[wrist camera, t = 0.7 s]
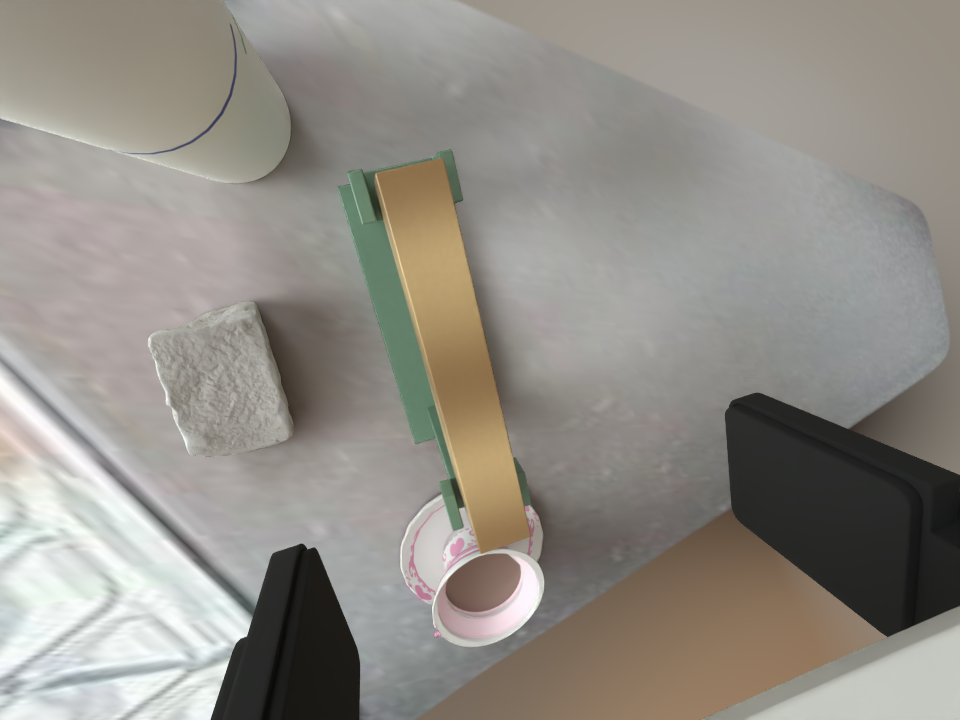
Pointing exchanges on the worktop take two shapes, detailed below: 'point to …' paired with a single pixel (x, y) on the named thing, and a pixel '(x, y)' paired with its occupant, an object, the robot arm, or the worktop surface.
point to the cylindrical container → (145, 83)
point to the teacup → (471, 577)
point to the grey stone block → (223, 382)
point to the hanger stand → (403, 319)
